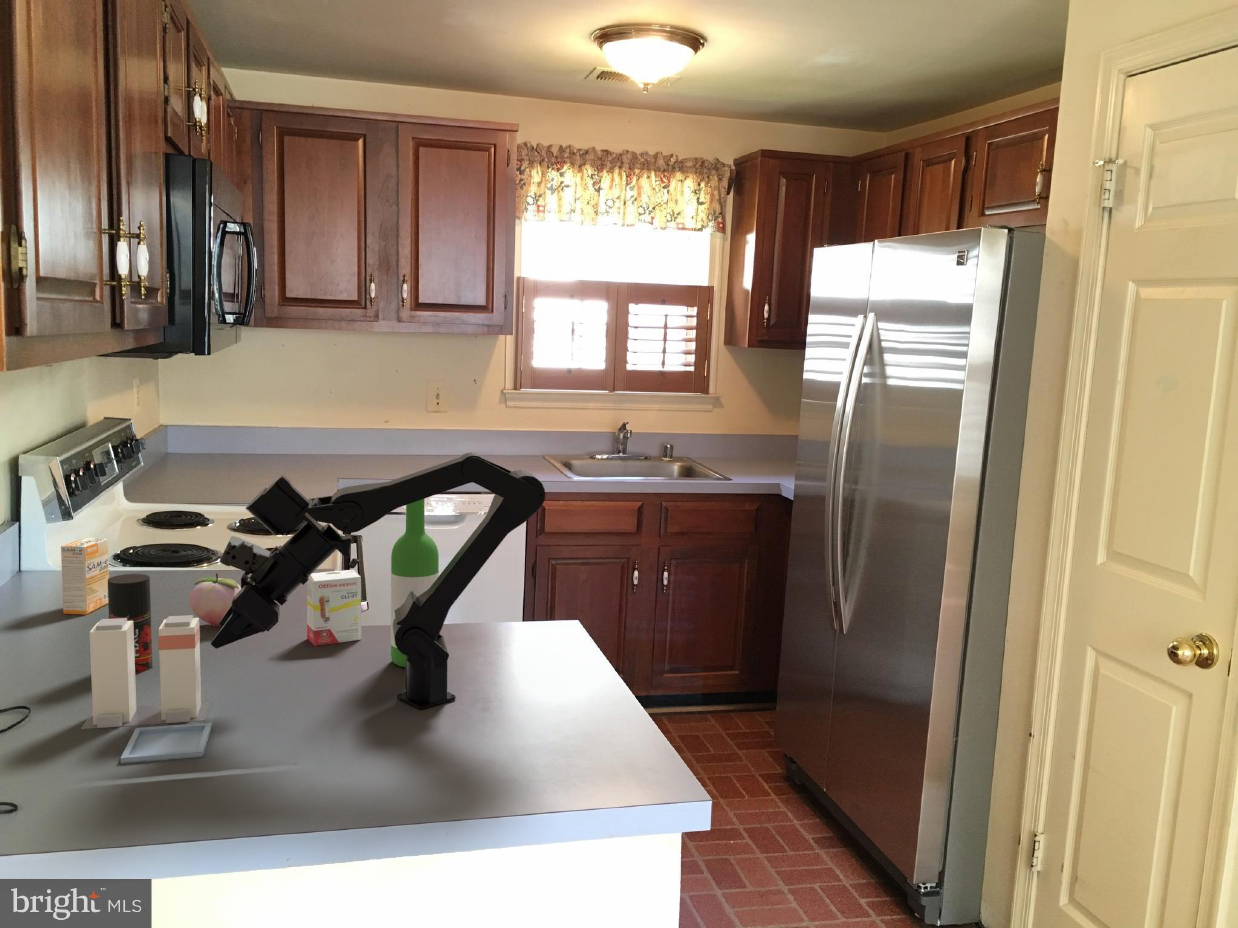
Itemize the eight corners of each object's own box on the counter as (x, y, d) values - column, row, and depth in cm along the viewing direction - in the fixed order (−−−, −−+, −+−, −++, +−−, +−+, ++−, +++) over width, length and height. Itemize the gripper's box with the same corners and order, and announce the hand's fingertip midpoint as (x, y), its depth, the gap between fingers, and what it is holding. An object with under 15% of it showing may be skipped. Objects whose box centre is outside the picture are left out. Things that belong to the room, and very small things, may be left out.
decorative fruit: (253, 621, 182) (253, 568, 180) (232, 634, 174) (231, 579, 172) (205, 618, 183) (204, 566, 181) (182, 631, 175) (180, 576, 173)
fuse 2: (201, 705, 140) (199, 613, 138) (196, 717, 136) (194, 623, 134) (166, 707, 139) (164, 615, 137) (161, 719, 135) (158, 624, 133)
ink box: (312, 646, 169) (312, 580, 167) (306, 638, 173) (305, 573, 171) (362, 640, 173) (362, 575, 171) (354, 632, 177) (354, 569, 176)
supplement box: (87, 615, 182) (85, 546, 180) (62, 614, 182) (59, 545, 180) (111, 603, 190) (109, 537, 188) (87, 602, 190) (84, 536, 188)
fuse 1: (136, 709, 138) (133, 616, 136) (129, 721, 133) (126, 625, 132) (101, 711, 137) (97, 617, 135) (93, 724, 132) (89, 627, 130)
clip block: (211, 704, 142) (211, 691, 141) (205, 723, 135) (204, 709, 135) (93, 712, 138) (93, 698, 137) (80, 732, 131) (80, 718, 130)
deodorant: (142, 661, 158) (139, 571, 156) (159, 670, 155) (156, 578, 153) (104, 670, 154) (100, 578, 152) (121, 680, 150) (117, 585, 148)
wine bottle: (427, 671, 158) (428, 489, 154) (382, 667, 160) (382, 486, 156) (445, 656, 166) (446, 482, 162) (402, 652, 167) (403, 479, 163)
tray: (211, 730, 133) (211, 722, 133) (202, 760, 124) (202, 751, 124) (136, 736, 130) (135, 727, 130) (120, 766, 121) (120, 757, 121)
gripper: (261, 506, 145) (183, 580, 144) (250, 532, 128) (160, 617, 126) (317, 556, 149) (240, 630, 147) (313, 588, 131) (226, 672, 129)
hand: (217, 635), depth 137 cm, fingers open, 9 cm apart
